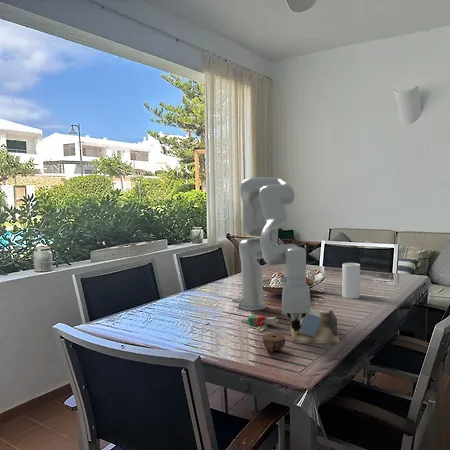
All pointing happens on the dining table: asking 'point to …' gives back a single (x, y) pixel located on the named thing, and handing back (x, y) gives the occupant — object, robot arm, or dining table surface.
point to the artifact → (274, 341)
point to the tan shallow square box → (319, 330)
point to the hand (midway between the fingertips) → (296, 330)
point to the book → (310, 322)
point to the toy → (260, 321)
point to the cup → (351, 280)
